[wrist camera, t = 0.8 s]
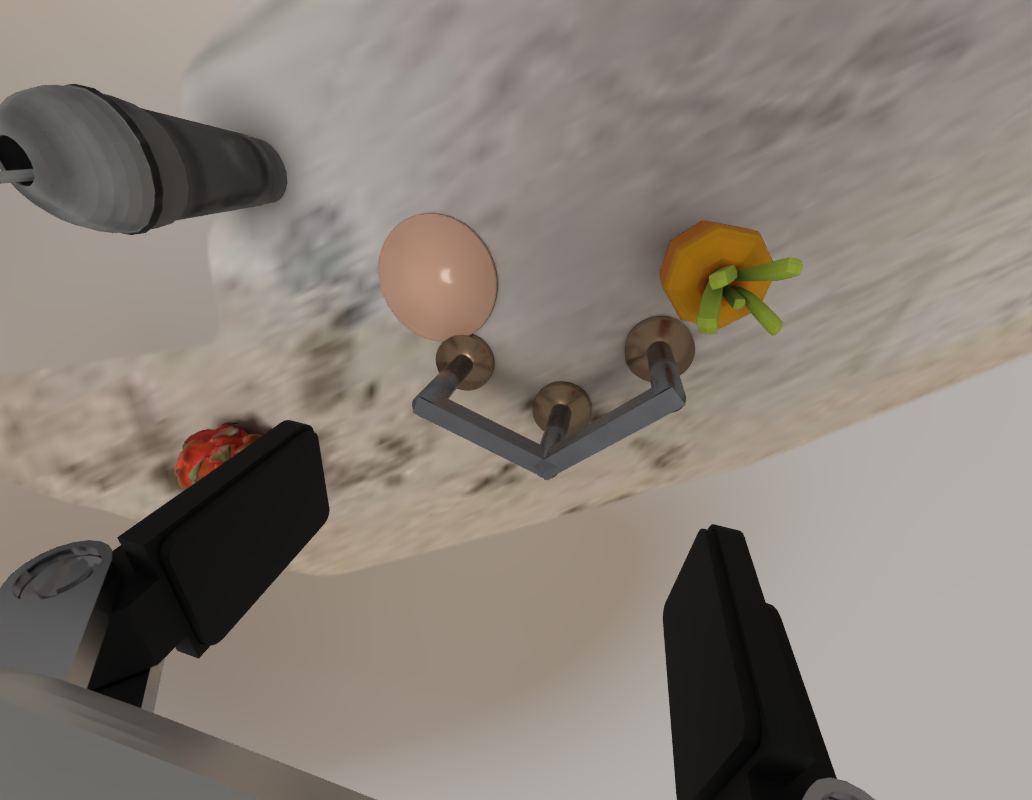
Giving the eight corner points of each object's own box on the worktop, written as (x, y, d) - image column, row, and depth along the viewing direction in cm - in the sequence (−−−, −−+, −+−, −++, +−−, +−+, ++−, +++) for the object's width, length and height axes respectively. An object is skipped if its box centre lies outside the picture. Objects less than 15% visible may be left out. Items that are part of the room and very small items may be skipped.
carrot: (727, 202, 27) (826, 217, 14) (728, 279, 29) (814, 355, 16) (647, 220, 28) (668, 248, 15) (653, 292, 30) (676, 371, 17)
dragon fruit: (302, 426, 47) (251, 447, 53) (220, 398, 41) (173, 425, 47) (281, 501, 43) (229, 515, 49) (187, 482, 37) (141, 500, 43)
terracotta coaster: (485, 203, 30) (482, 204, 30) (506, 334, 34) (504, 337, 34) (366, 223, 33) (362, 224, 32) (400, 343, 37) (397, 345, 37)
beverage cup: (306, 138, 31) (-96, 77, 14) (298, 235, 35) (-26, 283, 17) (219, 101, 31) (-285, -7, 14) (221, 201, 35) (-176, 214, 17)
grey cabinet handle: (694, 313, 30) (719, 358, 22) (690, 430, 34) (709, 503, 27) (434, 334, 36) (380, 377, 28) (458, 433, 40) (417, 494, 32)
